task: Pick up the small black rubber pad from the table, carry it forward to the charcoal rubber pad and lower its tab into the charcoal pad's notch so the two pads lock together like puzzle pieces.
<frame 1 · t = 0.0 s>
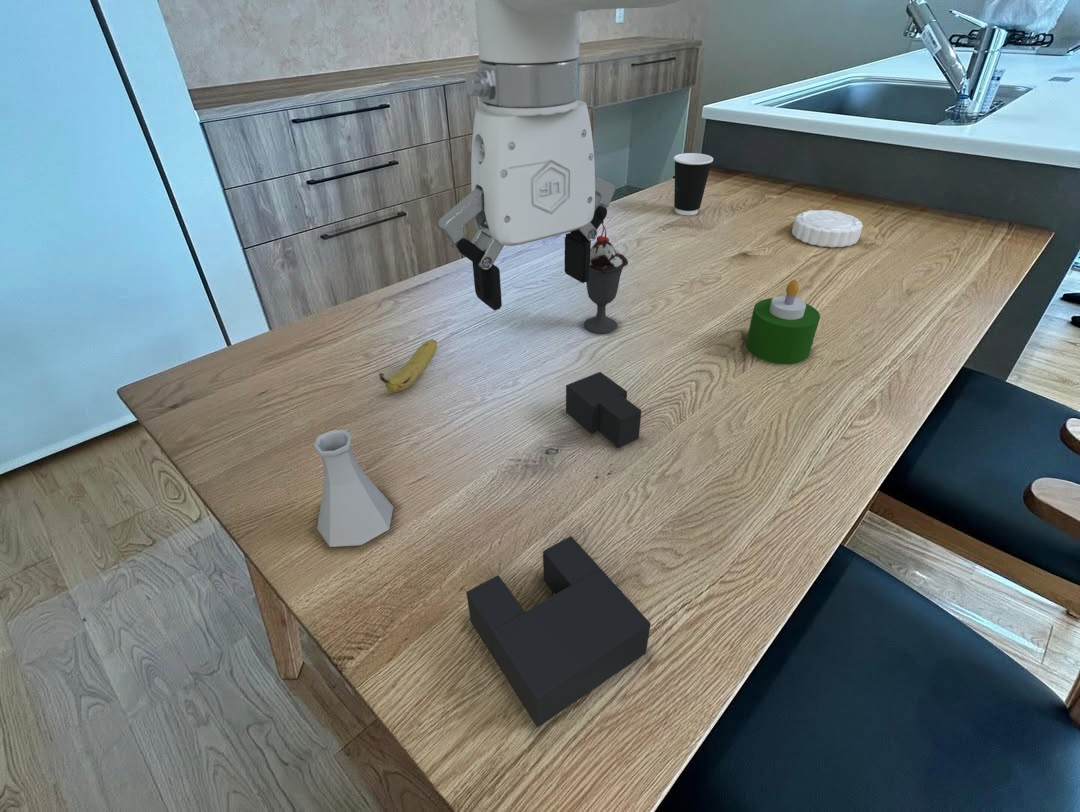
hand: (534, 290, 55), 18 cm above the table, tool pointing down, fingers open, 9 cm apart
banana: (412, 383, 76), on the table
mooncake: (824, 237, 113), on the table
dixie cup: (686, 212, 126), on the table
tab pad: (595, 415, 69), on the table
candle: (776, 348, 81), on the table
sundae: (600, 326, 87), on the table
notch pad: (555, 637, 46), on the table
flask: (357, 521, 57), on the table
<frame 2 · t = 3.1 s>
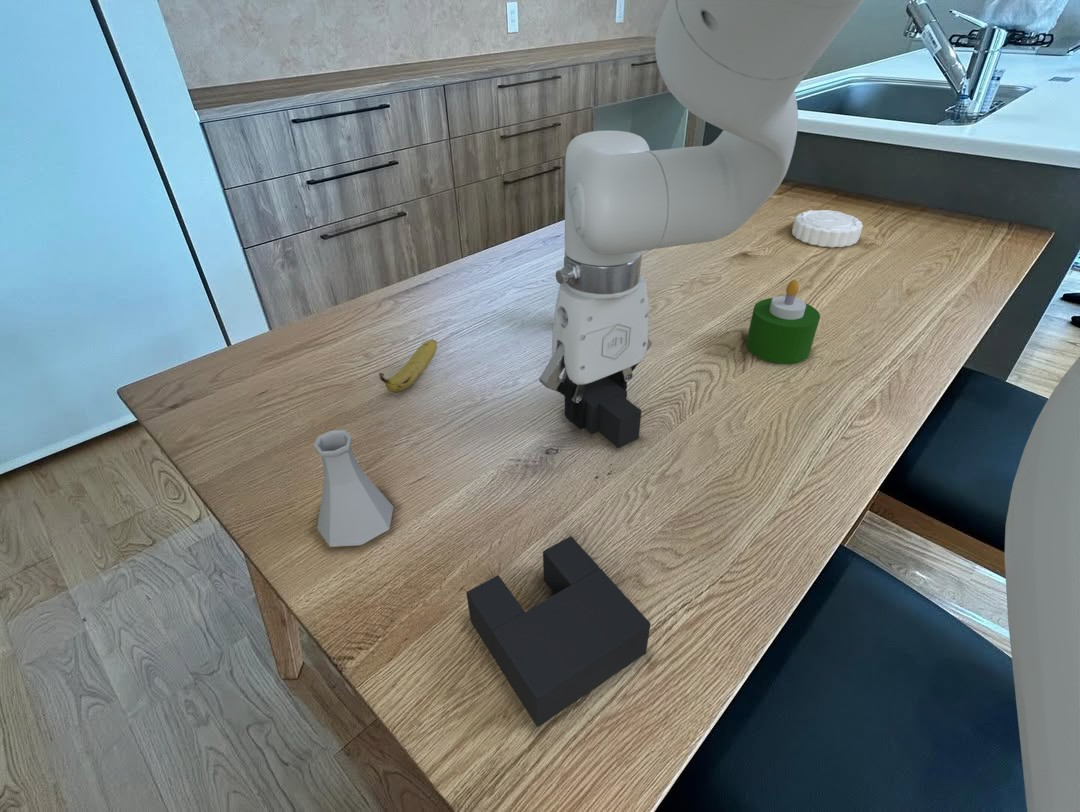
hand: (595, 413, 69), 0 cm above the table, tool pointing down, fingers closed on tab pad, 5 cm apart
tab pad: (595, 415, 69), on the table, touching gripper
everything else where it was.
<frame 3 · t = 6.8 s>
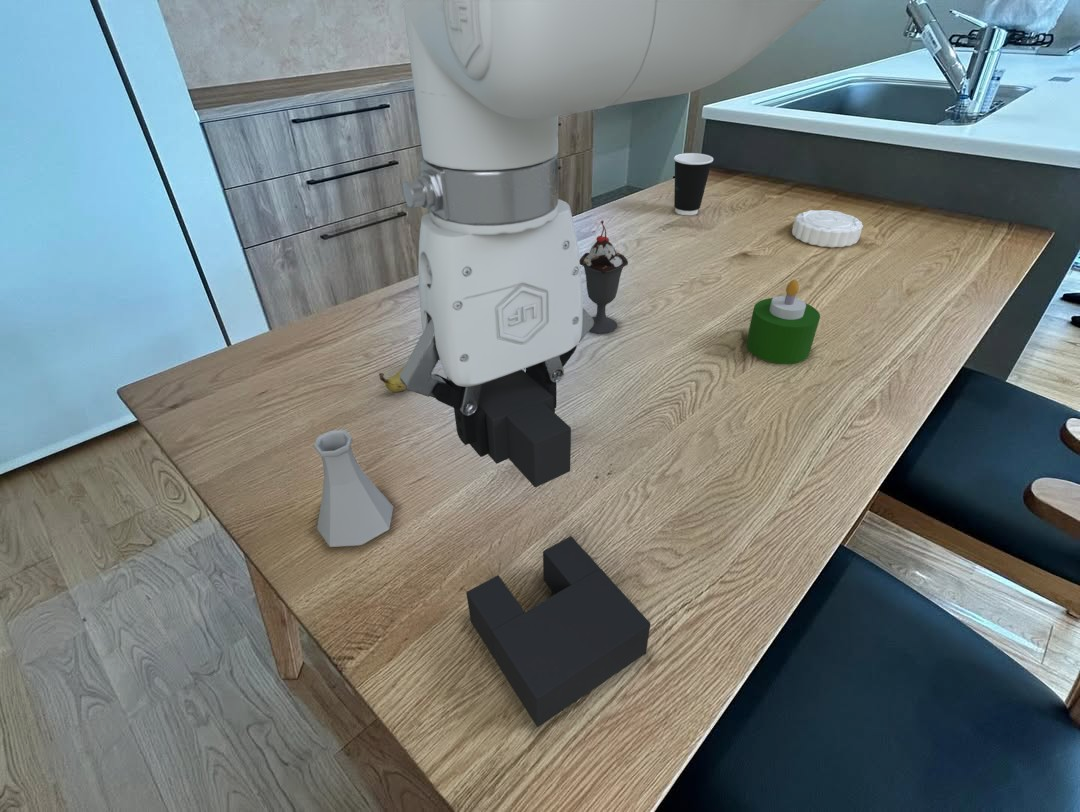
hand: (508, 429, 45), 14 cm above the table, tool pointing down, fingers closed on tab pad, 5 cm apart
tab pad: (508, 433, 45), point 14 cm above the table, touching gripper
everything else where it was.
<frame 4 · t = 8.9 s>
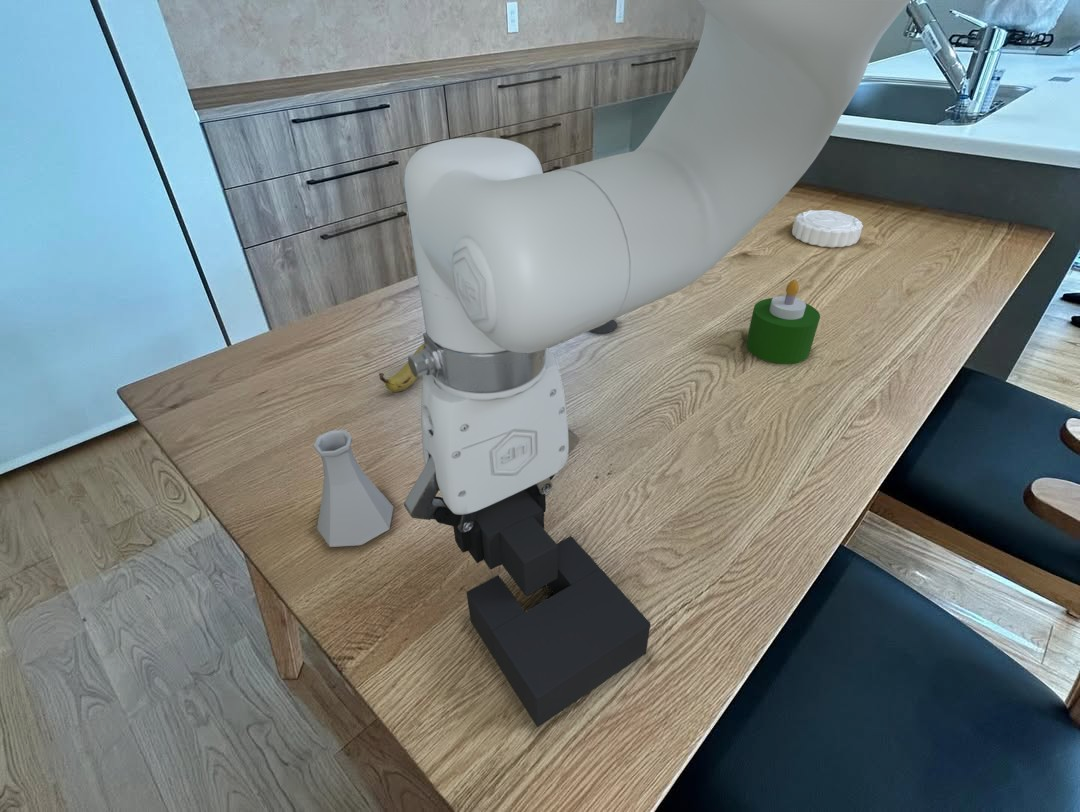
hand: (502, 533, 49), 5 cm above the table, tool pointing down, fingers closed on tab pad, 5 cm apart
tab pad: (502, 536, 49), point 4 cm above the table, touching gripper
everything else where it was.
when the fingers open (0 cm above the table, at t = 10.4 s): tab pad stays where it is, on the table.
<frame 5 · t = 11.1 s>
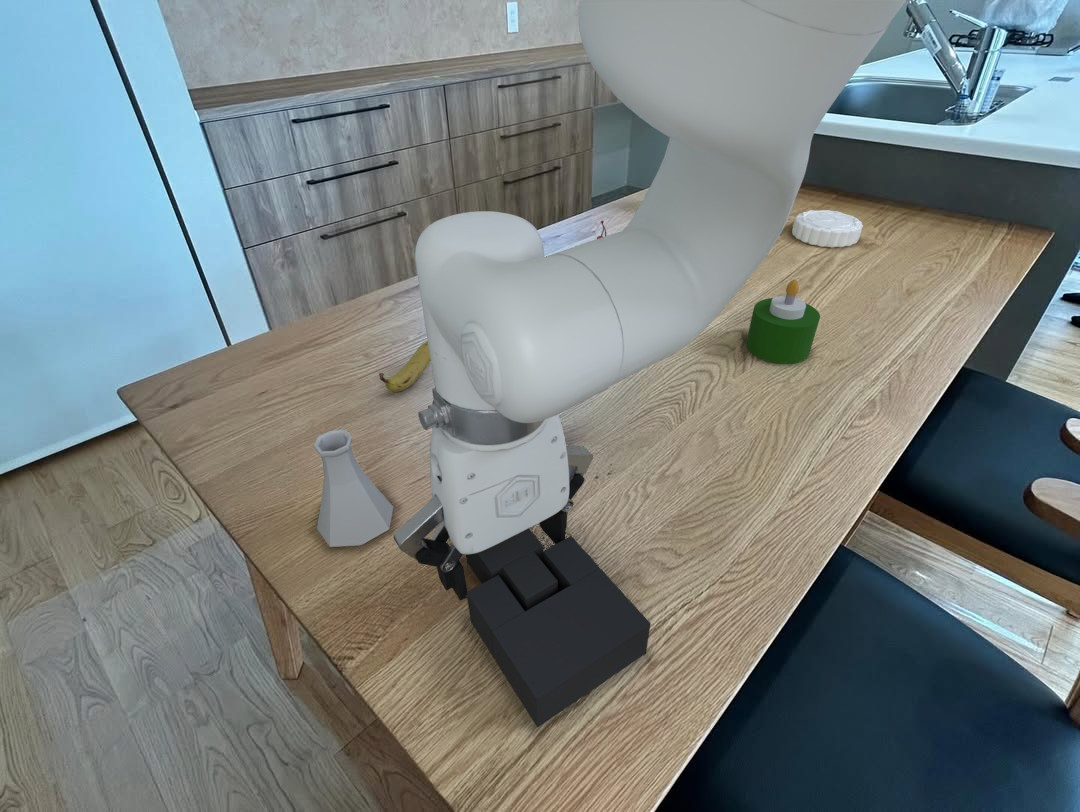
hand: (506, 560, 51), 2 cm above the table, tool pointing down, fingers open, 9 cm apart
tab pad: (504, 569, 52), on the table
everything else where it was.
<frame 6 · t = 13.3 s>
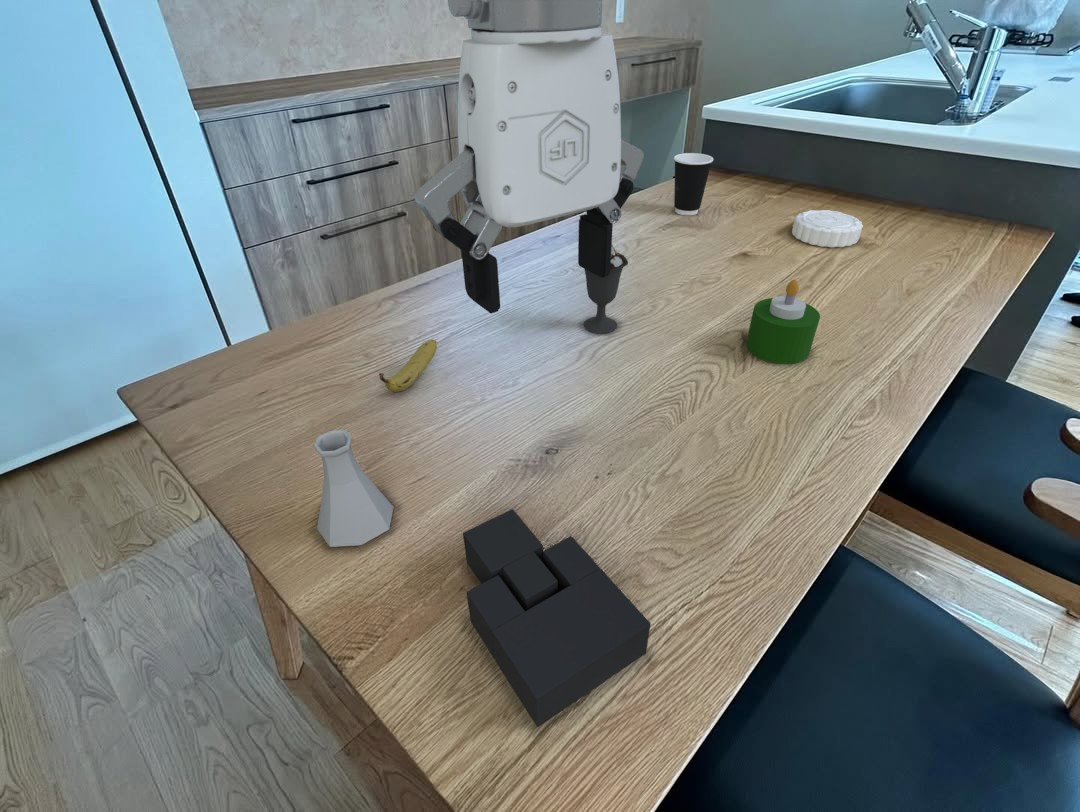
hand: (542, 287, 43), 24 cm above the table, tool pointing down, fingers open, 9 cm apart
nothing on the table moved.
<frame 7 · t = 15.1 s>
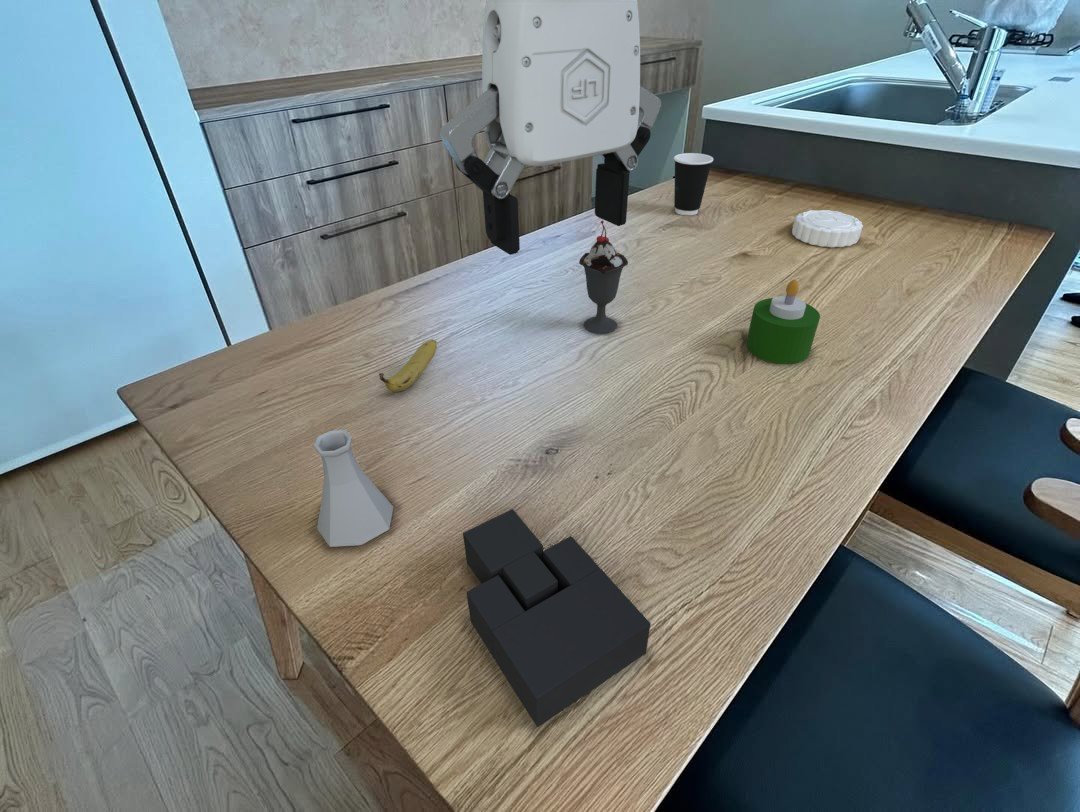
hand: (559, 233, 44), 26 cm above the table, tool pointing down, fingers open, 9 cm apart
nothing on the table moved.
at the end: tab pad 0.2 cm from the target spot on the table beside the notch pad, on the table; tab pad tilted 0°; the gripper is holding nothing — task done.
